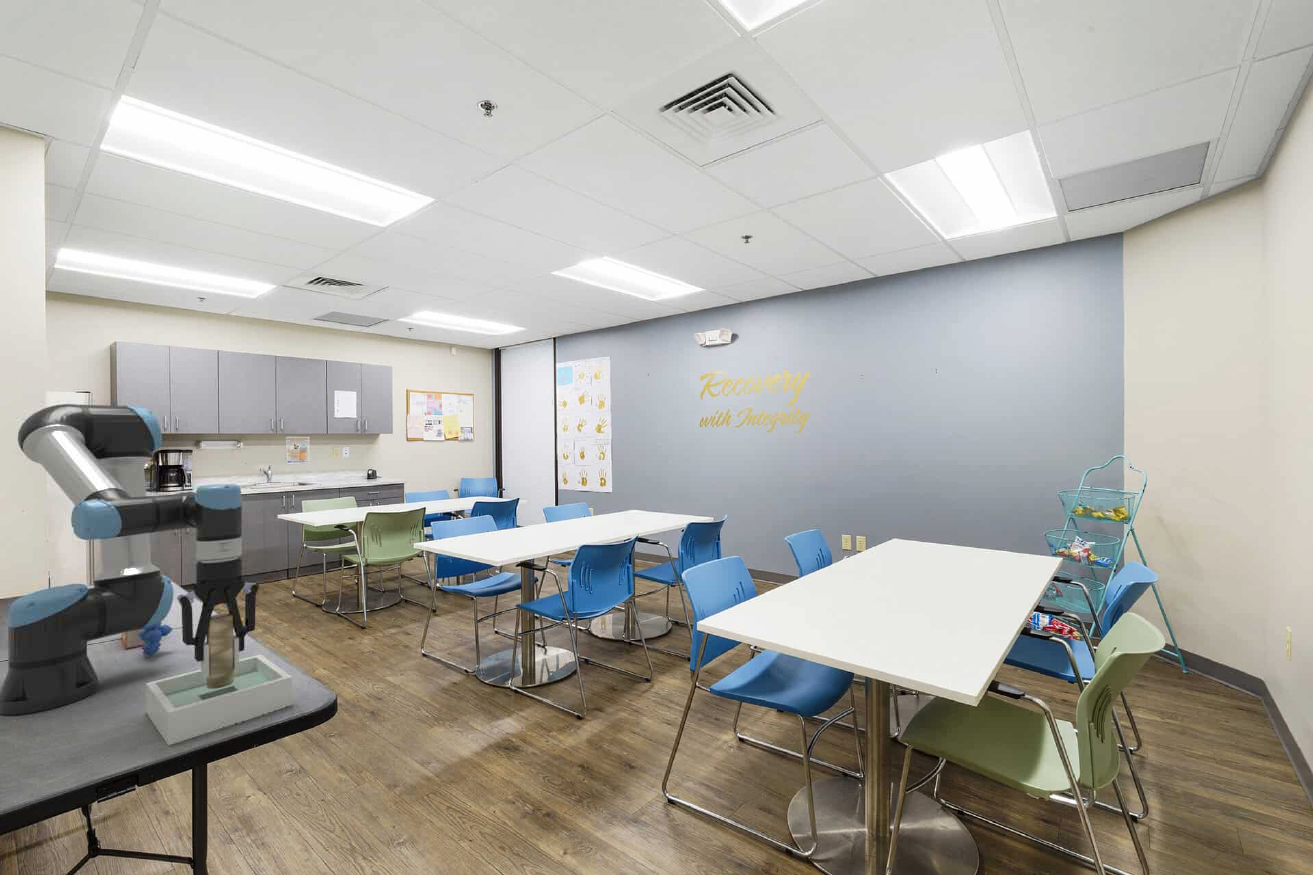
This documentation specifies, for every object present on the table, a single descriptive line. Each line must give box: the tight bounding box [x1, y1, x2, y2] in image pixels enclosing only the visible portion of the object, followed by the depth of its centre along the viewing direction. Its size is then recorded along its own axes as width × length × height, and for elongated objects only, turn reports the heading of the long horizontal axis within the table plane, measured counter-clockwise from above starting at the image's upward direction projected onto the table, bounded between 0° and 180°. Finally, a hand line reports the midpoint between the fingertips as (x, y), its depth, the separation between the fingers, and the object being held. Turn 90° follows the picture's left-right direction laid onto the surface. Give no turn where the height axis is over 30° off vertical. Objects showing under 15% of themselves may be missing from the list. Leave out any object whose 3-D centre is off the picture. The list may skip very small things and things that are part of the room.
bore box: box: [145, 654, 293, 746], centre depth 118 cm, size 20×20×6 cm
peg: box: [206, 612, 234, 689], centre depth 118 cm, size 4×4×14 cm
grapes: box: [138, 621, 173, 657], centre depth 148 cm, size 12×7×12 cm, turn 47°
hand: (220, 671), depth 118 cm, fingers closed on peg, 4 cm apart
